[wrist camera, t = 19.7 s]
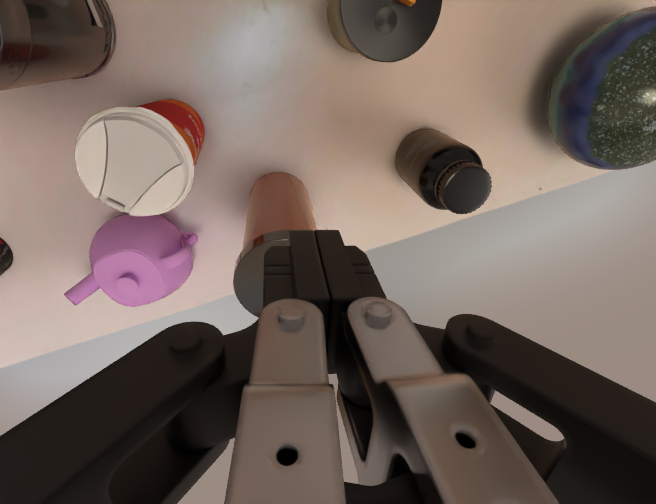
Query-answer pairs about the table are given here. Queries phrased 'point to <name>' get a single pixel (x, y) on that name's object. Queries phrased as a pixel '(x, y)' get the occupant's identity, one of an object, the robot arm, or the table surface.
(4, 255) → the deodorant
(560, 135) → the vase
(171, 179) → the coffee cup
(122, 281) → the teapot
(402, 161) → the supplement bottle
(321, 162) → the table surface
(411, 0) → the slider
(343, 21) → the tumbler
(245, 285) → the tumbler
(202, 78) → the table surface
